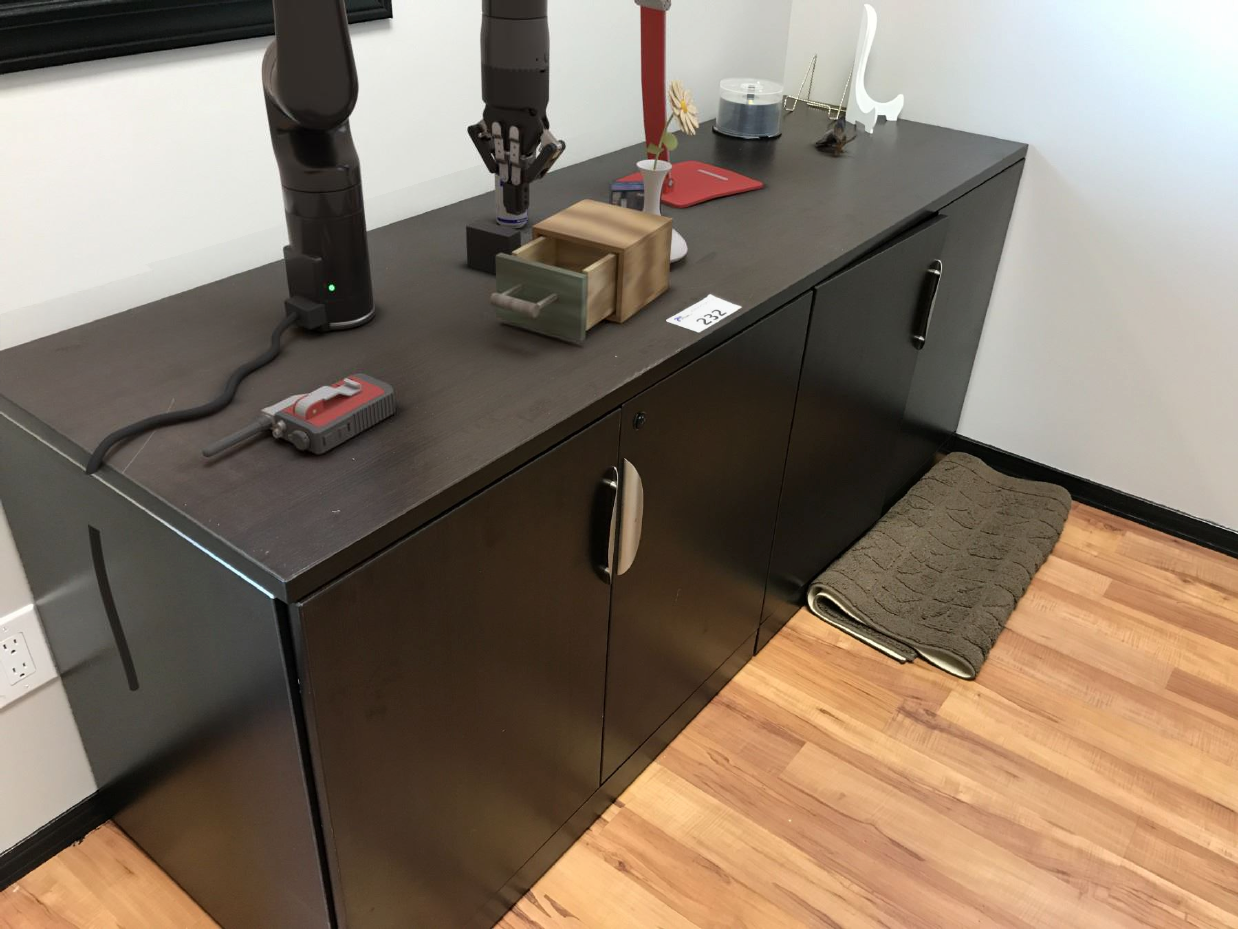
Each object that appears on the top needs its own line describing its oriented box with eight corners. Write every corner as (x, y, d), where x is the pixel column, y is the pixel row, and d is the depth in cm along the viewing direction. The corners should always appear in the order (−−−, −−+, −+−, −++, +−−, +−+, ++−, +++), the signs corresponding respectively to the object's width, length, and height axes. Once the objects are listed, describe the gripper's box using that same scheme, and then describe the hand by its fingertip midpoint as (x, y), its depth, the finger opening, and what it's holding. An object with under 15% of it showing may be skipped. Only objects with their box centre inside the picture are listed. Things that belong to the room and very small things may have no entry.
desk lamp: (804, 175, 187) (839, -67, 165) (658, 217, 164) (677, -57, 142) (732, 152, 197) (756, -78, 176) (586, 188, 175) (592, -71, 153)
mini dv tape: (610, 221, 161) (611, 184, 158) (608, 218, 162) (610, 181, 159) (659, 219, 163) (662, 183, 159) (657, 216, 164) (660, 180, 161)
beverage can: (523, 231, 156) (522, 133, 147) (491, 227, 156) (488, 129, 148) (531, 220, 160) (531, 124, 152) (501, 217, 160) (499, 121, 152)
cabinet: (620, 323, 129) (624, 248, 124) (532, 298, 134) (531, 226, 129) (668, 288, 139) (673, 218, 134) (583, 267, 144) (585, 198, 139)
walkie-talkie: (349, 384, 112) (198, 462, 98) (345, 349, 110) (190, 423, 96) (408, 408, 108) (259, 492, 94) (405, 372, 106) (252, 453, 92)
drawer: (555, 360, 118) (556, 294, 113) (469, 334, 122) (466, 270, 118) (629, 306, 131) (632, 246, 127) (549, 285, 136) (549, 226, 132)
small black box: (509, 277, 140) (508, 236, 137) (467, 266, 143) (465, 225, 139) (521, 271, 142) (520, 230, 139) (479, 260, 145) (478, 219, 142)
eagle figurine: (864, 151, 198) (852, 130, 205) (851, 122, 194) (839, 102, 200) (828, 170, 200) (817, 149, 207) (815, 142, 196) (804, 121, 202)
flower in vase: (652, 278, 142) (664, 95, 128) (593, 256, 148) (600, 79, 135) (709, 256, 150) (726, 82, 137) (651, 235, 156) (662, 67, 143)
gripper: (446, 54, 110) (452, 208, 119) (543, 73, 104) (542, 234, 114) (489, 45, 115) (492, 193, 125) (584, 62, 110) (580, 217, 119)
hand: (516, 212), depth 119 cm, fingers closed
